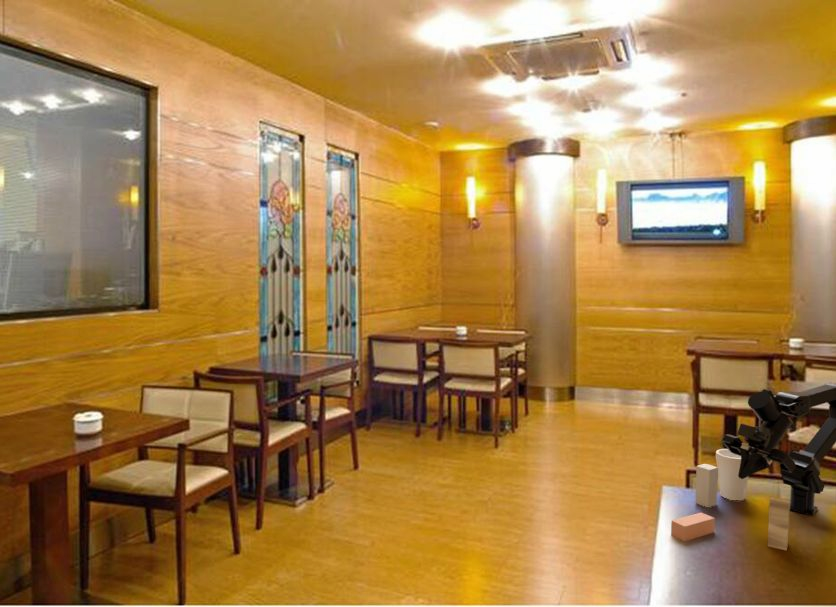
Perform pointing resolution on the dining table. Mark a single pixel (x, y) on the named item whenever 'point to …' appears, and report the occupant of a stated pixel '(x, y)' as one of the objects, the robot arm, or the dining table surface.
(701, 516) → the terracotta block
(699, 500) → the grey post
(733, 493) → the foam cup
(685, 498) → the dining table surface
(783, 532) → the birch post
